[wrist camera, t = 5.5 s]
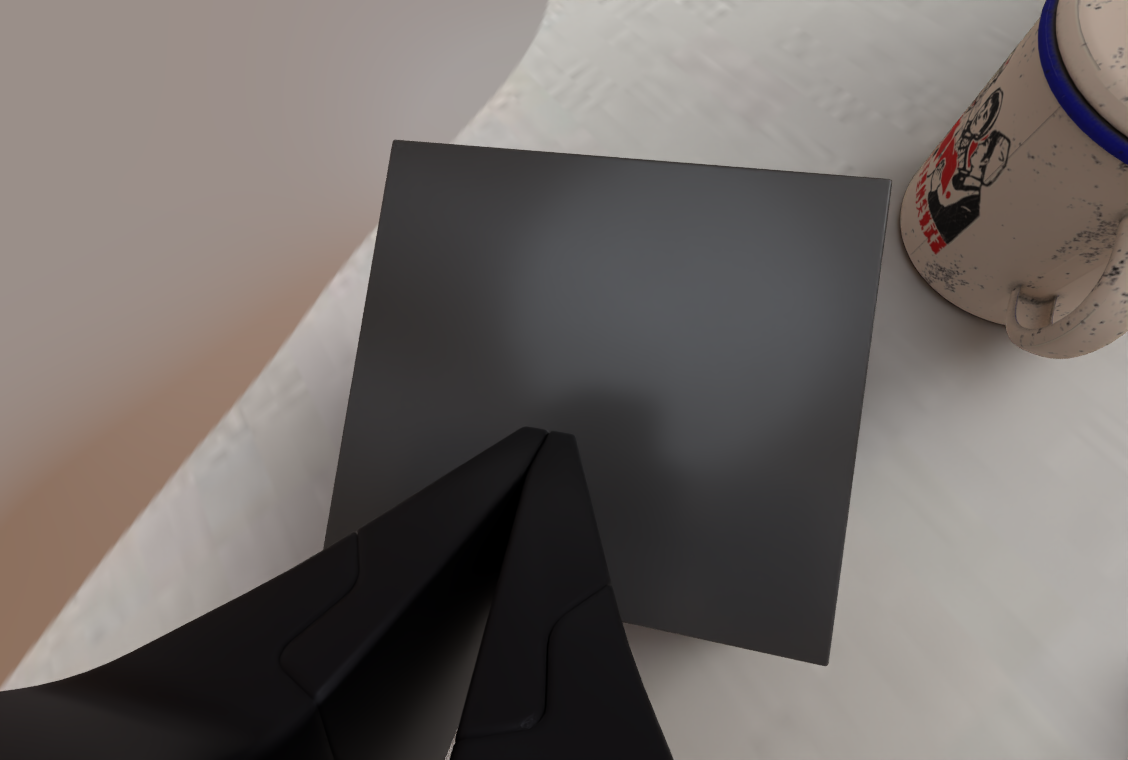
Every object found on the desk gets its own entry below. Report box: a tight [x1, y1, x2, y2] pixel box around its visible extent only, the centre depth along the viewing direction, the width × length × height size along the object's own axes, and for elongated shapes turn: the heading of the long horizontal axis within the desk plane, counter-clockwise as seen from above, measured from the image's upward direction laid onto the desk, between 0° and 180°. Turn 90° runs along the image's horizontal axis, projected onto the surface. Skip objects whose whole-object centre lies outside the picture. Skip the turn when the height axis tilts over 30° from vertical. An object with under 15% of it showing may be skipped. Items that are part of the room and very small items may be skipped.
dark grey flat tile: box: [323, 140, 892, 666], centre depth 13 cm, size 11×13×1 cm
